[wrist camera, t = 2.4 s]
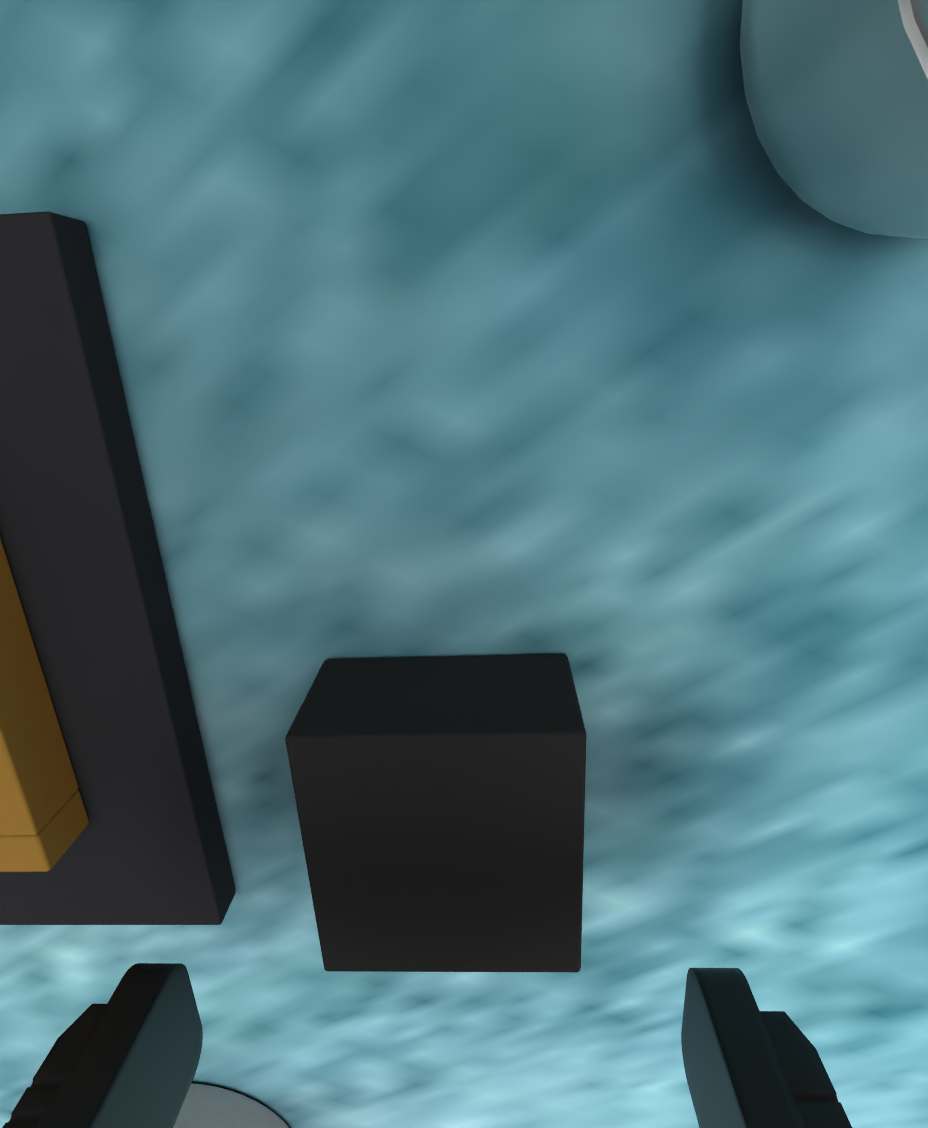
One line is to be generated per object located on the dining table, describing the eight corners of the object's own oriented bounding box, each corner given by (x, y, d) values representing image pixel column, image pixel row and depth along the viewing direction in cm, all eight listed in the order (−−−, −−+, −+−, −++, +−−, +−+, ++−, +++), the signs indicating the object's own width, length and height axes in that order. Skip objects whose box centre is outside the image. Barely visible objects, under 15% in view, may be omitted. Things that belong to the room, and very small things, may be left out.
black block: (324, 658, 14) (283, 737, 11) (567, 652, 14) (586, 733, 11) (352, 863, 16) (323, 973, 14) (565, 861, 16) (581, 974, 13)
